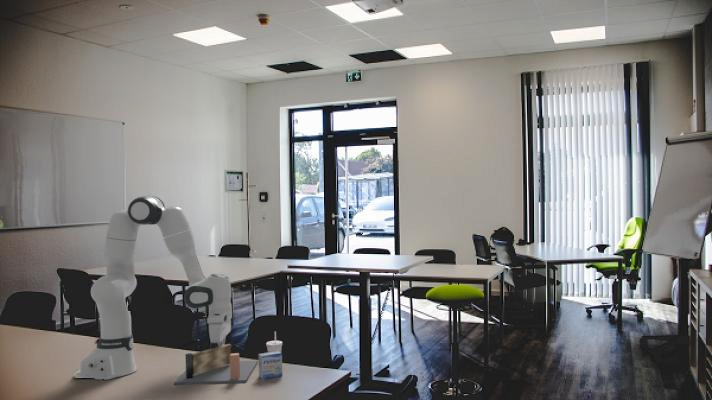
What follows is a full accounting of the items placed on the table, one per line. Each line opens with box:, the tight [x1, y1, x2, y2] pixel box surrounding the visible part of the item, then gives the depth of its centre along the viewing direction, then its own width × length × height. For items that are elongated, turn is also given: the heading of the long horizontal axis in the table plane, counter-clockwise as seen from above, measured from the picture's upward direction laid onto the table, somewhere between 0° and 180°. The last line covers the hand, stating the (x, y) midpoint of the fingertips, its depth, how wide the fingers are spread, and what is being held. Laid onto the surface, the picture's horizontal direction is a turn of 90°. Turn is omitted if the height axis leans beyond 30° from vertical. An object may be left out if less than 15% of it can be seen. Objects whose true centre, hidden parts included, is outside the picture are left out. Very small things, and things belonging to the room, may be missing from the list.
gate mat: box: [173, 360, 259, 385], centre depth 209 cm, size 26×24×1 cm
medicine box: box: [257, 351, 283, 380], centre depth 203 cm, size 8×4×9 cm, turn 117°
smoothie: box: [265, 331, 283, 353], centre depth 214 cm, size 6×6×14 cm
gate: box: [192, 343, 232, 375], centre depth 210 cm, size 17×2×8 cm, turn 140°
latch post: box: [230, 352, 241, 379], centre depth 199 cm, size 3×2×10 cm
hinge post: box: [185, 352, 193, 379], centre depth 202 cm, size 2×2×10 cm
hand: (221, 348), depth 219 cm, fingers closed
